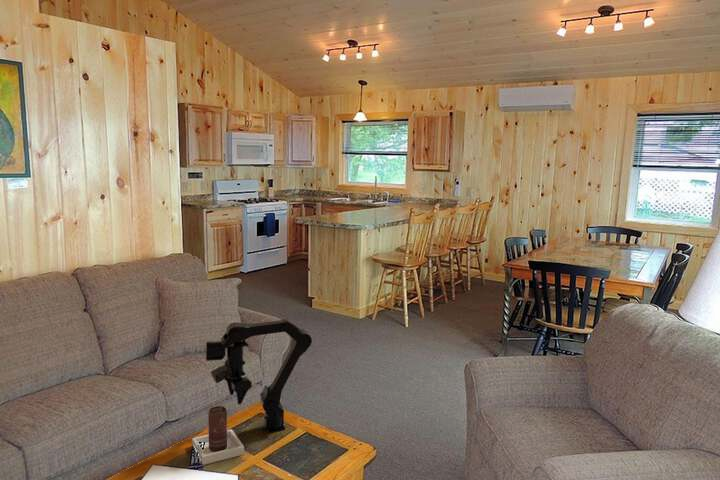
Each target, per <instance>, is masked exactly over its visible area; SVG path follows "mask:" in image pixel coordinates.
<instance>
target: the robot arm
mask: <svg viewBox="0 0 720 480" xmlns="http://www.w3.org/2000/svg"><path fill="white" fill-rule="evenodd" d="M225 331H226V332H225V333H224V334H223V335H222V337H221V339H220V340H216V341H210V340H209V341H206V342H205V344H206V345H205V361H206V362H212V361H222V360H223V359H225V357H226V360H225V361H224V364H223V365H222V366H221V365H220V366H219V367H217V368H214V369H212V370H211V371H210V374H211V377H212V380H213V381H214V382H215V383H216V384H218V383H220V382H223V381H224V380H225V381H226V384H227V385H226V386H227V388H228V389H227V390H228V392H229V395H230V396H233V395H234V393H235V395H236V400H237V401H236V402H237V404H238V405H242V403H243V401H244V399H245V397H246V395H247V393H248V391H249V390H250V389H251V388H252V387H253V386H252V385H253V384H252V381H251V380H250V379H249V377H247V376H246V372H245V371H244V365H246V361H245V360H244V347H249V346H250V345H249V342H248V341H247V339H249V338H252V337H255V336H263V335H271V334H279V333H286V334H287V335H288V336H290V338H291V342H290V347H289V350H288V353H287V355H286V356H285V358H284V360H283V362H282V365H281V366H280V368H279V370H278V371H277V374H276V375H275V377H274V380H273V381H272V383H271V384H270V385H269V386H268V385H264V387H263V389H262V392H260V399H259V400H260V403H261V404H260V405H261V406H262V409H263V411H265V413H264V416H263V428H265V430H266V431H267V432H268V433H269V434H270V433H274V432H275V433H277V432H279V431H284V430H286V427H285V422H284V421H285V419H284V417H285V409H284V408H283V405H282V403H281V400H282V399H281V398H282V392H283V390H284V388H285V385H286V384H287V382H288V380H289V378H290V376H291V374H292V373H293V371H294V368H295V367H296V365H297V362H298V361H299V359H300V357H301V356H302V355H304V354H305V353H306V352H307V351H308V349H309V348H310V347H311V346H312V342H313V339H312V337H311V335H310V333H308V331H307V330H305V329H302V328H299V327H298V326H296V325H295V324H294V323H292V322H291V321H290V320H289V319H287V318H285V319H284V318H283V319H280V320H272V321H263V322H257V323H247V322H230V323H229V324H228V325H227V327H226V330H225Z"/></svg>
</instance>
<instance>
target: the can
mask: <svg viewBox="0 0 720 480" xmlns="http://www.w3.org/2000/svg"><path fill="white" fill-rule="evenodd" d="M207 414H208V420H207V421H208V435H209V449H210V450H211V451H212V452H218V451H222V450H225V449H226V447H227V430H228V415H227V414H228V410H227V409H226V407H225V406H223V405H221V406H220V405H219V406H213V407H211V408H209V411H208V413H207Z"/></svg>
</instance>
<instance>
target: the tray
mask: <svg viewBox="0 0 720 480" xmlns="http://www.w3.org/2000/svg"><path fill="white" fill-rule="evenodd" d="M191 441H192V446H193V445H194V446H195V448H196V450H197V452H198V454H199V457H200V459H201V461H200V463H201V462H202V463H201V465H202V466H205V465H209V464H212V463H215V462H220V461H224V460H227V459H232V458H234V457H235V458H236V457H239V456H243V455H245V446H244V444H243V443H242V441H241V440H240V439H239V438H238V436H237V435H236V432H235V431H234V430H233V429H227V447H226V449H225V450H222V451H218V452H212V451H211V450H210V449H209V434H205V435H201V436H197V437H193V438H192V440H191ZM199 442H205V445H204V449H203V451H202V449H201V447H200V445H199ZM199 457H198V458H199ZM200 459H199V460H200Z"/></svg>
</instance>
